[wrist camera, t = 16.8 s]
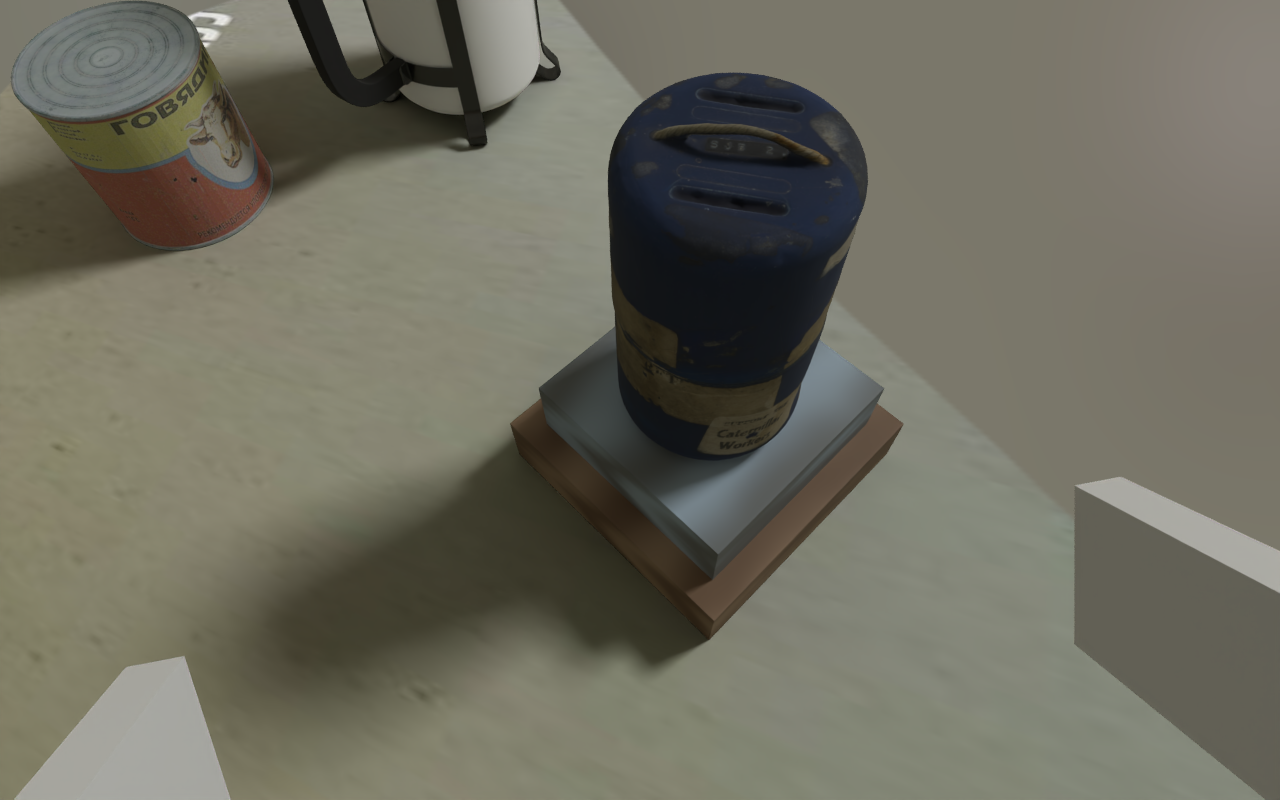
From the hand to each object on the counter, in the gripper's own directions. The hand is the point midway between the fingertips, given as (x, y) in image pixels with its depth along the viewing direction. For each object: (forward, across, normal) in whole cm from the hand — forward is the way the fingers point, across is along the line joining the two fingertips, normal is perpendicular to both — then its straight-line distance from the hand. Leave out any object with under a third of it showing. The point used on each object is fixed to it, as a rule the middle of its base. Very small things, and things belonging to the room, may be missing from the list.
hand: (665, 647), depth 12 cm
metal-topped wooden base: (+36, +7, -10) cm, 38 cm away
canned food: (+57, -25, +10) cm, 63 cm away
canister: (+31, +7, -5) cm, 32 cm away
